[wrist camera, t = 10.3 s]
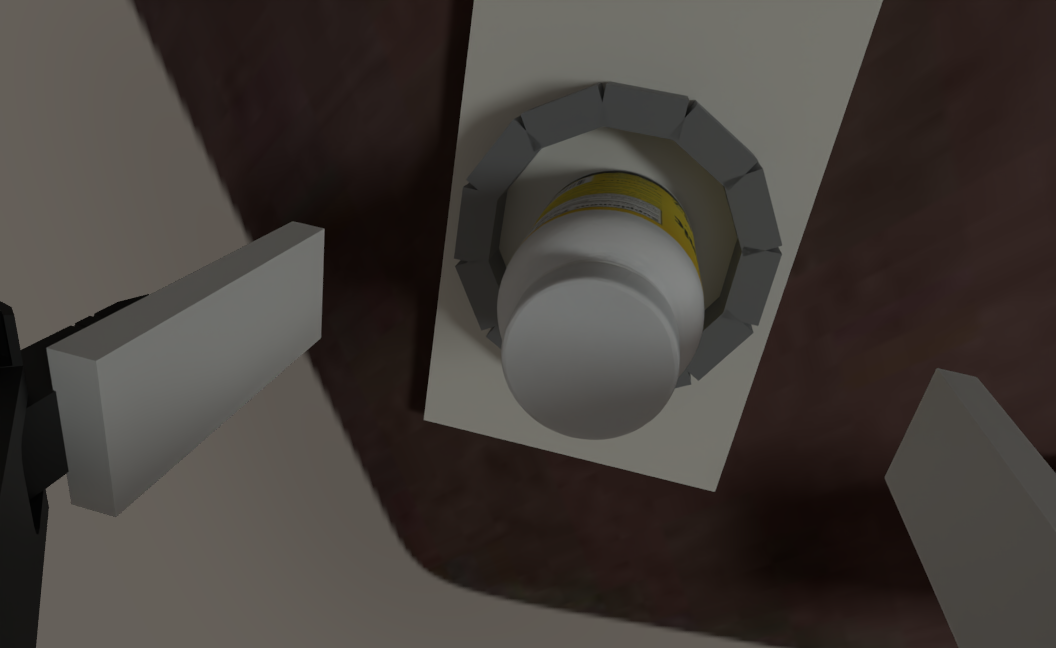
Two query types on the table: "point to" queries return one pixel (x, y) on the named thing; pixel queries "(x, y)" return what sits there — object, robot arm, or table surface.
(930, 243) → the table surface
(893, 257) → the table surface
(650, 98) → the socket board
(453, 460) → the table surface
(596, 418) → the supplement bottle
